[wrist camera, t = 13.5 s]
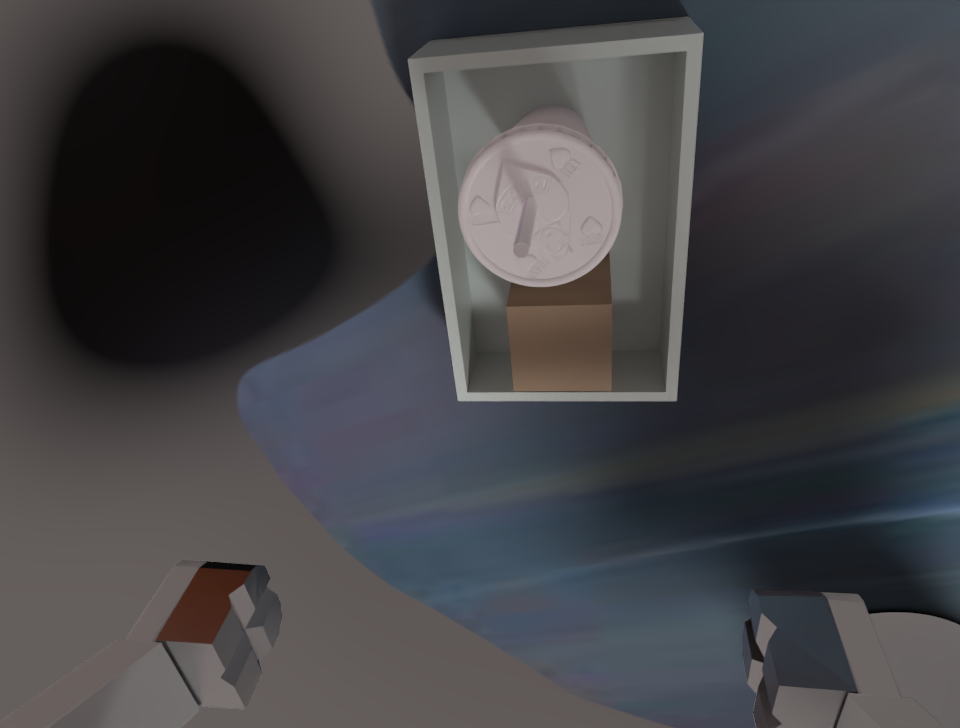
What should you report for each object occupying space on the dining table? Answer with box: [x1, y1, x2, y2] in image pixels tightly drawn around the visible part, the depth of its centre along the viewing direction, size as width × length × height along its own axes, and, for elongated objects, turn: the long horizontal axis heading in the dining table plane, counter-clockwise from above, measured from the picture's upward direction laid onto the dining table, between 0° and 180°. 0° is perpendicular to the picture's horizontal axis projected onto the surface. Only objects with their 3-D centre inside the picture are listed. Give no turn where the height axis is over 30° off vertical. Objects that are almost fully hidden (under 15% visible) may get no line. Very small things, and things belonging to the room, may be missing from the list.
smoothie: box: [458, 104, 623, 287], centre depth 28 cm, size 6×6×14 cm
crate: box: [408, 16, 704, 401], centre depth 34 cm, size 18×12×5 cm, turn 6°
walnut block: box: [506, 252, 612, 391], centre depth 36 cm, size 5×5×6 cm
